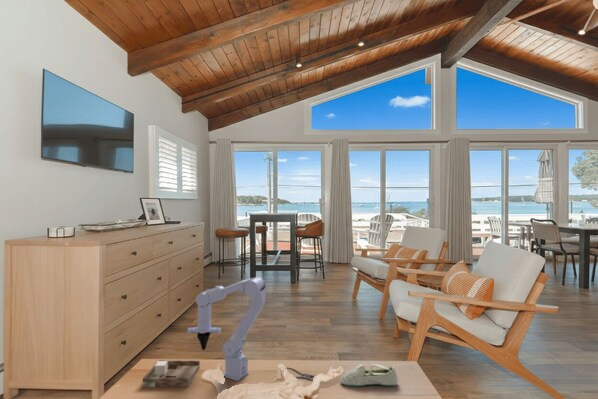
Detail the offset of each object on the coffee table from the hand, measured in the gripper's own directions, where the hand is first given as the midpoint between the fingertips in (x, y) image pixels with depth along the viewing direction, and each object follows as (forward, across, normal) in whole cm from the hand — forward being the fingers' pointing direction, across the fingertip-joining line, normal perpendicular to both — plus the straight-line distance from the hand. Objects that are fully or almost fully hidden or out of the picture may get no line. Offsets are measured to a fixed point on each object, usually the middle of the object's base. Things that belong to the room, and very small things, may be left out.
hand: (204, 348), depth 149 cm
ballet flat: (+10, +72, -10) cm, 74 cm away
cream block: (+7, -16, -7) cm, 19 cm away
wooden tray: (+9, -12, -6) cm, 16 cm away
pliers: (+10, +43, -3) cm, 44 cm away
